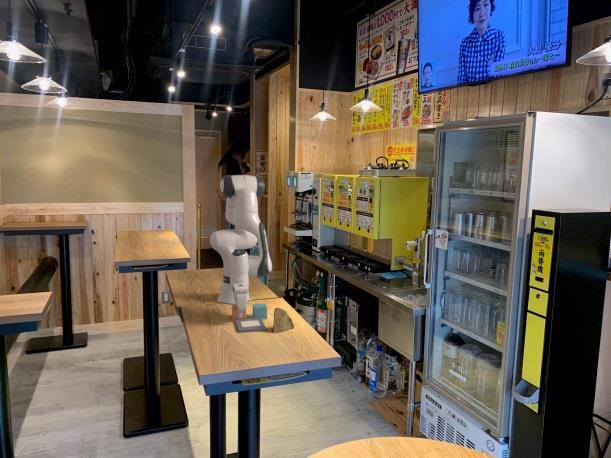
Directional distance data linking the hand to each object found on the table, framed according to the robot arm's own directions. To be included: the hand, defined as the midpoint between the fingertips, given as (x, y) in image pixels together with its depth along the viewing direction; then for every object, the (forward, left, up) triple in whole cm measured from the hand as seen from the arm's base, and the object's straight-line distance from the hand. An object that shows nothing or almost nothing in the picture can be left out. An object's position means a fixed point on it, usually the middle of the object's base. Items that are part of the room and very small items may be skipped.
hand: (239, 313), depth 217 cm
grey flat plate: (+12, +4, -2) cm, 13 cm away
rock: (+20, +17, -3) cm, 26 cm away
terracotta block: (0, 0, -3) cm, 3 cm away
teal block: (0, +10, -3) cm, 10 cm away
